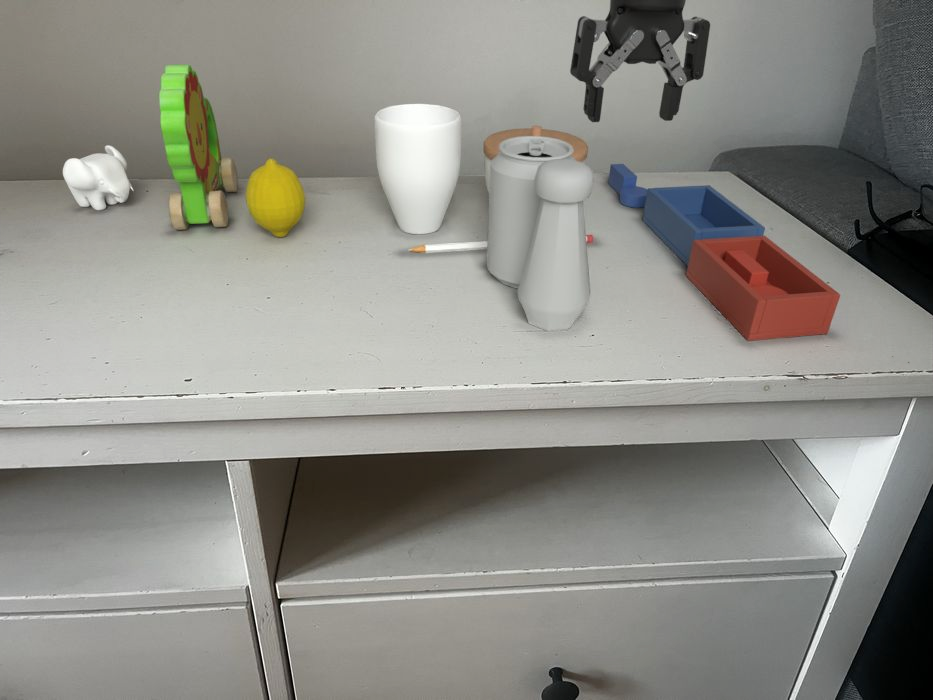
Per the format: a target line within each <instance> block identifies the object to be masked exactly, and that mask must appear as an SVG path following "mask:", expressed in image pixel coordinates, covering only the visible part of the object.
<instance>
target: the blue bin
mask: <svg viewBox="0 0 933 700" xmlns="http://www.w3.org/2000/svg"><path fill="white" fill-rule="evenodd" d="M647 189H648V190H647V196H646V202H645V207H643V208H644V209H643V215H642V222H644V224H645V225H647V226H648V228H650V230H652V232H653V233H654V234H655V235H656V236H657V237H658V238H659V239H660V240H661V241H662V242H663V243H664V244H665V245H666V246H667V247H668V248H669V249H670V250H671V251H672V252H673V253H674V254H675V255H676V256H677V258H679V259H680V260H681V261H682V262H683V263H684V264H685V265H686V267H688V264H689V259H690V254H691V250H692V245H693V240H702V239H718V238H734V237H750V236H765V235H764V234H765V231H766V227H765V226H764V225H762V224H761V223H760V222H758V221H757V220H756V219H755V218H753V217H752V216H751V215H749V214H748V213H747V212H746V211H744V210H742V208H740V207H739V206H737V204H735V203H734V202H732V201H731V200H729V199H728V198H727V197H726V196H724V195H723V194H722V193H720V192H719V191H718V190H716V188H714V187H713V186H711V185H708V184H707V185H705V184H704V185H686V186H669V187H668V186H666V187H665V186H664V187H648V188H647Z"/></svg>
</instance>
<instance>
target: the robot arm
mask: <svg viewBox="0 0 933 700" xmlns="http://www.w3.org/2000/svg"><path fill="white" fill-rule="evenodd" d="M686 1H687V0H609V11H608V14H607V16H606V18H605V19H593V18H589V17H588V16H585V15H582V16H580V17H579V18H578V20H577V24H576V29H575V31H576V32H575V37H574V44H573V50H572V57H571V64H570V70H569V72H570V75H571V76H573V77H574V78H575V79H576V80H578V81H579V82H583V83H585V91H584V92H585V93H584V101H583V112H584V115H586V116H587V119H588V120H589V121H590V122H591V123H600V121H601V115H602V108H603V99H604V91H605V90H604V89H605V88H604V86H603V85H604V83H605V82H606V81H607V80H608V78H609V77H610V76H611V75H612V74H613V73H614V72H616V71H617V70H619V68H620V67H621V65H622V64H623V63H625V64H627V65H636V64H637V65H638V64H640V63H645V64H649V65H656V64H658V65H659V66H660V67H661V69H662V71H663V72H664V75H665V76H666V78H667V82H664V83H663V87H662V88H663V89H662V95H661V101H660V106H659V112H658V115H659V118H660V119H661V120H663V121H665V122H669V121H673V119H674V116H677V114H678V112H679V110H680V105H681V99H682V94H683V89H684V86H685V85H686V84H687V83H688V82H691V81H694V80H695V81H698V80H701V79H702V78H703V76H704V72H705V65H706V57H707V51H708V44H709V37H710V30H711V23H710V21H709V20H708V19H706V18H702V17H699V16H693V17H692V18H690V19H684V17H683V11H684V8H685V6H686ZM603 33H604V35H605V37H606V39H607V40H608V43H607V44H606V46H605V47H604V48H603V49H602V50H601V52H600V53H599V54H598V55H597V60H596V61H595V62H594V63H593V65H592V66H591V62H592V55H593V49H594V44H595V43H596V42H597V41H599V39H600V36H601V34H603ZM682 34H683V37H684V39H685V41H686V46H685V53H684V60H683V61H684V63H683V67H682V65H681V60H680V57H679V56H678V54H677V51H676V50H675V47H674V44H675V43H676V41H677V40H678V39H679V38H680V37H681V35H682Z"/></svg>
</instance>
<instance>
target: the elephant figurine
mask: <svg viewBox="0 0 933 700" xmlns="http://www.w3.org/2000/svg"><path fill="white" fill-rule="evenodd" d="M104 151H105V153H99V152H98V153H91V154H88V155H87V156H84V157H81V158H76V157H72V158H68V159H67V160H66V161H65V162H64V164H63V167H62V176H63V179H64V181H65V183H66V185H67V188H68V189H69V191H70V193H71V194H72V197H73V198H74V200H75V202H76V203H77V204H78V206H79V207H81V208H88V207H90V206H91V207H92V208H93V210H96V211H103V210H105V209H106V208H107V204H108V205H111V206H112V205H117V204H118V203H119V204H121V203H125V202H126V201H127V200H128V198H129V195H130V190H132V191H133V192H134V191H135V190H134V188H133V187H132V183H131V181H130V179H129V178H128V175H127V170H128V163H127V160H126V159H125V156H123V154H122V153H121V152H120V151H119V150H118V149H116V148H115V147H114V146H112V145H105V146H104ZM106 203H107V204H106Z"/></svg>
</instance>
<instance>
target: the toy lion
mask: <svg viewBox="0 0 933 700" xmlns="http://www.w3.org/2000/svg"><path fill="white" fill-rule="evenodd" d="M158 97H159V98H158V103H159V111H160V119H159V122H160V130H161V135H162V139H163V143H164V149H165V157H166V161H167V163H168V165H169V168H170V169H171V172H172V176H173V179H174V181H175V182H176V183H179V188H180V192H174V193H170V195H169V198H168V199H169V200H168V211H169V212H168V213H169V218H170V221H171V224H172V228H173V229H175V230H176V231H178V230H180V231H181V230H188V229H189V228H190V224H192V225H193V224H194V225H195V224H197V225H199V224H209V223H210V222H212V225H213V227H214V228H226V227H228V225H229V208H228V203H227V199H226V196H225V194H224V191H223V190H221V188H222V187H223V189H224V190H225V192H226V193H237V191H238V187H239V178H238V177H239V176H238V171H237V167H236V163H235V161H234V159H233V158H232V157H222V152H221V147H220V140H219V133H218V129H217V128H218V127H217V123H216V118H215V115H214V111H213V108H212V107H213V106H212V105H211V103H210V101H209V99H208V98H206V97H205V96H204V92H203V88H202V85H201V83H200V81H199V76H198V74H197V72H196V70H193V68H192V66H191V65H190V64H167V65H165V67H164V73H162V74H161V77H160V90H159V92H158ZM217 189H220V190H217Z"/></svg>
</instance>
